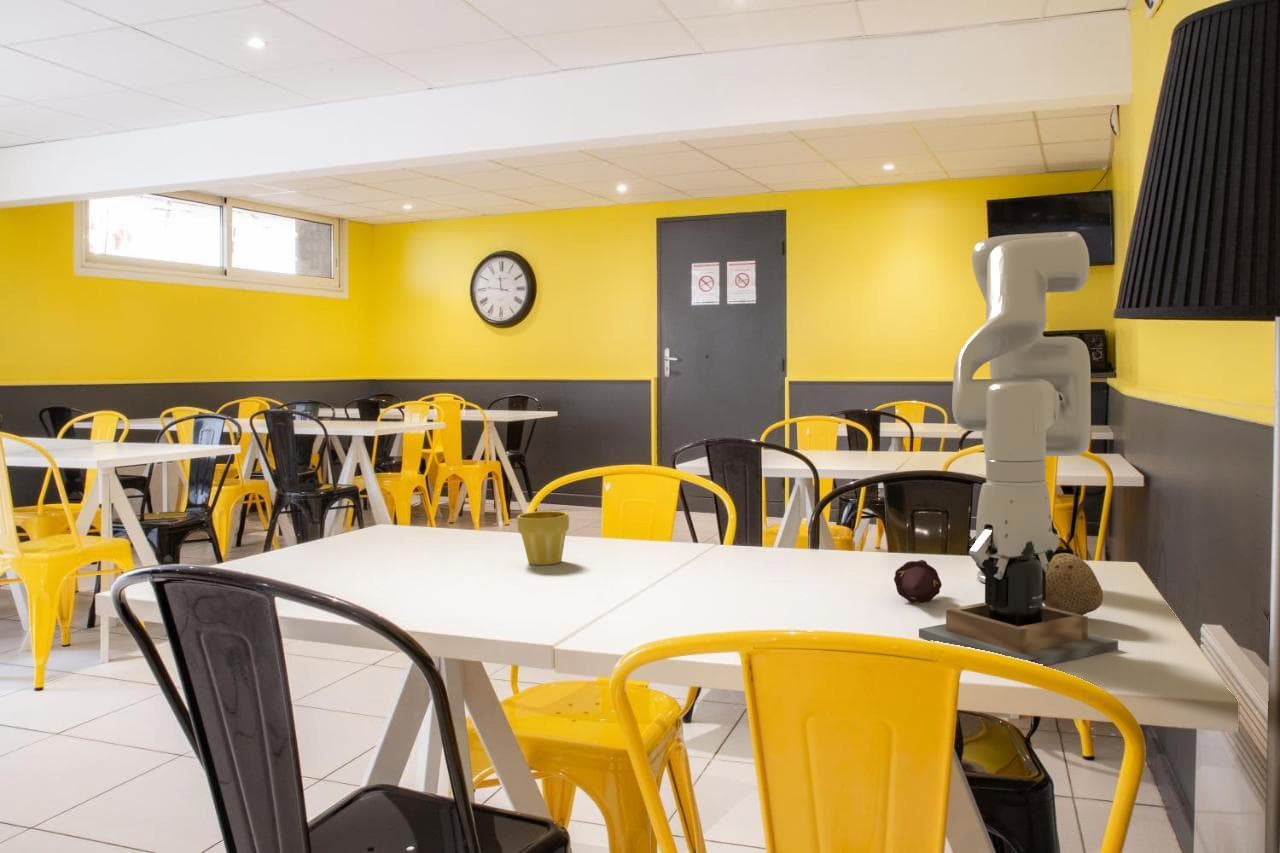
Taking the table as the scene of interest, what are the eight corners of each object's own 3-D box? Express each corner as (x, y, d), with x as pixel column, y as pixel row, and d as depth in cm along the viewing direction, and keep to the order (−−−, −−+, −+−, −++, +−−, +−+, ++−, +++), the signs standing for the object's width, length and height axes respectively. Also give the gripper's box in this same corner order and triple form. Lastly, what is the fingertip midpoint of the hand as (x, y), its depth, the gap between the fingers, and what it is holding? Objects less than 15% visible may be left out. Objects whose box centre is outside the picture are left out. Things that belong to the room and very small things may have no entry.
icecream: (945, 573, 150) (946, 562, 164) (897, 559, 152) (902, 550, 166) (933, 616, 150) (936, 602, 164) (885, 601, 152) (892, 589, 167)
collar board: (1010, 619, 146) (1010, 592, 145) (1117, 649, 130) (1118, 618, 129) (918, 637, 138) (918, 607, 137) (1021, 671, 122) (1021, 637, 121)
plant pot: (509, 566, 194) (507, 517, 194) (533, 556, 204) (531, 509, 203) (556, 568, 191) (554, 519, 190) (578, 558, 200) (577, 511, 200)
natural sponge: (1022, 613, 149) (1022, 548, 149) (1077, 610, 150) (1078, 546, 150) (1052, 628, 140) (1052, 560, 140) (1111, 626, 141) (1111, 557, 141)
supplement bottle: (1047, 632, 130) (1047, 543, 129) (993, 631, 131) (993, 542, 130) (1037, 619, 136) (1037, 534, 136) (985, 618, 138) (985, 533, 137)
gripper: (1038, 466, 140) (1037, 589, 141) (947, 474, 132) (947, 605, 133) (1083, 470, 133) (1082, 599, 134) (990, 480, 125) (990, 617, 126)
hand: (1015, 601), depth 133 cm, fingers closed on supplement bottle, 6 cm apart
